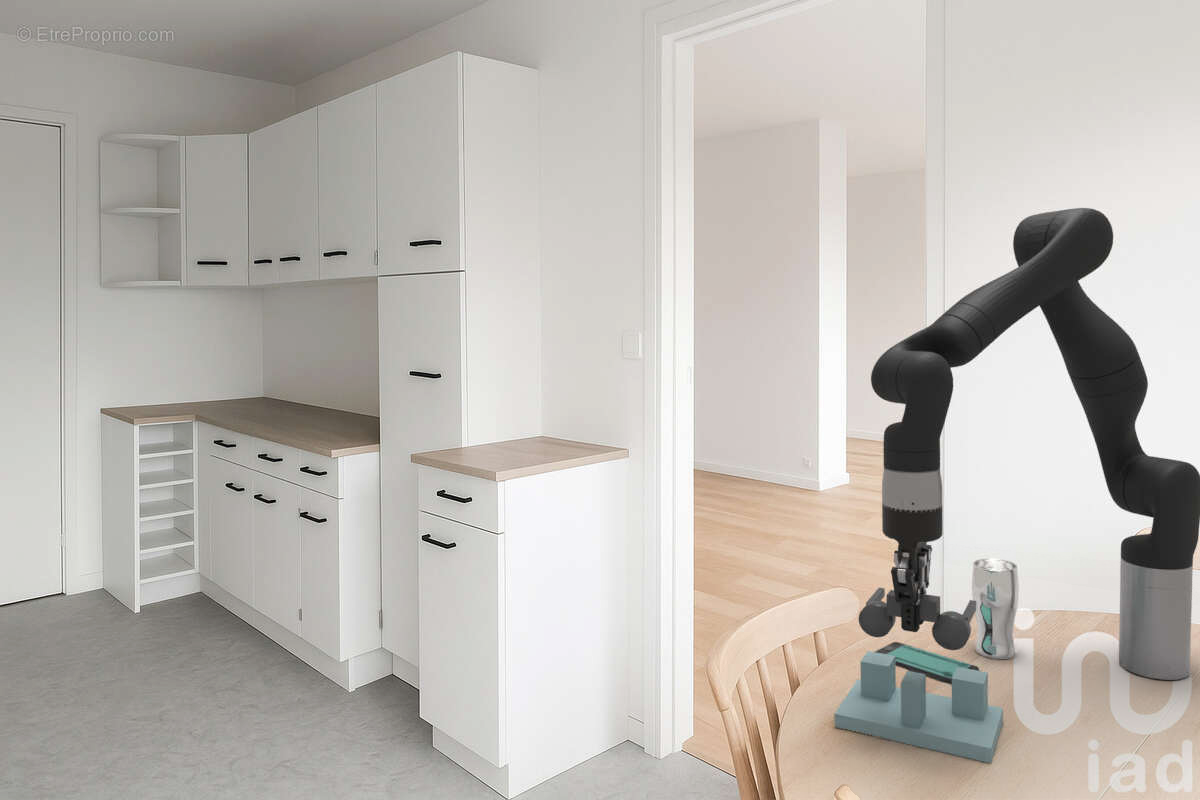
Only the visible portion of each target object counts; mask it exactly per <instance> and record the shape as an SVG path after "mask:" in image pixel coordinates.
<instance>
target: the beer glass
mask: <svg viewBox="0 0 1200 800" xmlns="http://www.w3.org/2000/svg"><path fill="white" fill-rule="evenodd" d="M972 566H973V568H972V577H971V578H972V579H971V592H972V593H971V596H972V600H973V601H976V611H975V613H974V615H975V617H976V618H975V619H976V625H977V635H976V640H975V644H974V650H975V652H976V653H977V654H978V655H980V656H981V657H985V658H989V659H993V660H1010V659H1012V658H1014V657H1015V656H1016V648H1015V643H1014V635H1013V633H1014V626H1015V620H1016V615H1017V612H1018V611H1017V610H1018V605H1019V597H1020V594H1019V590H1020V589H1019V588H1020V587H1019V584H1020V583H1019V575H1018V573H1019V572H1018V565H1017V564H1016V563H1014V562H1013V561H1009V560H1005V559H999V558H980V559H977V560H975V561H973V565H972Z"/></svg>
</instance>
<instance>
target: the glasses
mask: <svg viewBox="0 0 1200 800" xmlns="http://www.w3.org/2000/svg"><path fill="white" fill-rule="evenodd" d="M885 590H886V589H885V588H884V587H878V588H877V589H876V591H874V593H873V594H872V595H871V596H870V598H868V600H867V601H866V602H865V606H864V607H863V608H862V610H861V611H860V612H859V615H858V624H859V626H860V628H861V629H862V631H863V632H864V633H865V634H867V636H870V637H872V638H882V637H885V636H887V635H888V634H889V632H891V630H892V628H894V626H895V623H896V619H897V618H901V603H896V600H895V593H894V589H890V590H889V591H888V593H887V594H886V593H885V592H886V591H885ZM885 594H886V602H885V601H883V599H884V598H885ZM905 594H906V595H910V594H909V593H906V592H905ZM920 600H921V602H920V604H919V620H922V621H924V622H928V623H929V622H930V623H933V625H932V627H931V633H932V637H933V639H934V641H935V642H936V644H938V646H940V647H942V648H943V649H944V650H945V649H946V650H948V651H957V650H960V649H963V648H964V647H965V646H966V645H967V643H968V642H969V641H968V640H969V639H970V636H971V634H972V626H971V621H972V619H973V617H974V615H975V611H976V601H973V599H970V600H969V601H968V603H967V605H966V607H965V609H964V611H963V613H962V614H961V613H959V612H957V611H954V610H947V611H944V612H941V596H939V595H932V594H927V593H926V594H920Z"/></svg>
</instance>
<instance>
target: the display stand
mask: <svg viewBox="0 0 1200 800" xmlns="http://www.w3.org/2000/svg"><path fill="white" fill-rule="evenodd" d="M896 667H897V666H896V662H895V656H893V655H887V654H882V653H876V652H875V651H869V650H867V651H866V653H865V654H864V656H863V657H862V659H860V678H859V679H857V680H856V681H855V682H854V684H853V686H852V687H851V688H850V690H849V692H848V693H847V694H846V695H845V697H844V699H843V700H842V702H841V703H840V705H839V706H838V708H837V709H836V710H835V712H834V714H833V715H834V727H835V728H836V727H839V728H838V729H841V728H844V729H843V730H845V729H849V730H852V731H851V732H854V731H858V732H861V733H860V734H862V733H865V734H864V735H867V734H870V735H869V736H871V735H874V736H873V737H875V736H878V737H877V738H880V737H882V738H881V739H884V738H885V740H888V739H889V741H893V742H897V743H902V744H907V745H911V746H915V747H920V748H924V749H928V750H932V751H936V752H940V753H944V754H949V755H952V756H953V755H954V756H959V757H962V758H966V759H970V760H975V761H979V762H984V763H988V764H991V763H992V760H993V757H994V755H995V754H994V753H995V750H996V746H997V744H998V743H997V742H998V740H999V737H1000V733H1001V730H1002V727H1003V723H1004V707H1001V706H995V705H990V704H989V700H988V699H989V672H987V671H982V670H979V671H977V670H971V669H966V668H960V667H957V668H956V670H955V672H954V674H953V677H952V684H951V697H950V696H946V695H940V694H934V693H929V692H927V688H926V687H927V686H926V685H927V683H926V681H927V679H926V678H927V676H926V674H922V673H917V672H912V671H910V670H907V671H906V672H905V675H904V676H903V678H902V679H901V682H900V687H898V686H897V684H896V683H897V681H896V680H897V679H896V678H897V675H896V673H897V672H896ZM849 730H848V731H849ZM853 730H854V731H853ZM858 732H857V733H858Z"/></svg>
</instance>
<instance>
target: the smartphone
mask: <svg viewBox="0 0 1200 800" xmlns="http://www.w3.org/2000/svg"><path fill="white" fill-rule="evenodd" d="M874 652H876V653H882V654H887V655H893V656H895V662H896V667H899V668H902V669H905V670H907V671H911V672H917V673H922V674H926V678H930V679H934V680H936V681H940V682H941V683H946V684H949V685H952V677H953V674H954V672H955V670H956V668H957V667H960V668H966V669H971V670H977V671H980V668H979V666H977V665H974V664H971V663H968V662H964V661H960V660H957V659H955V658H951V657H947V656H944V655H941V654H938V653H934V652H931V651H928V650H924V649H921V648H919V647H914V646H912V645H908V644H905V643H902V642H898V641H894V642H891V643H889V644H887V645H885V646H883V647H881V648H880V649H877V650H875V651H874Z"/></svg>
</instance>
